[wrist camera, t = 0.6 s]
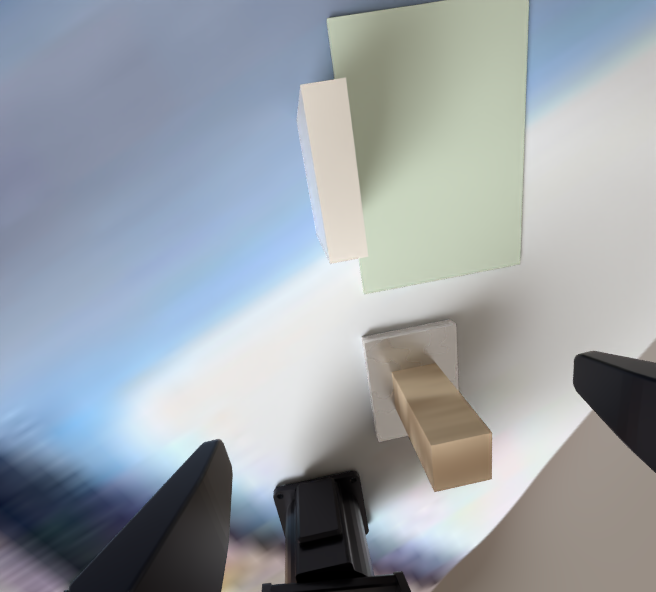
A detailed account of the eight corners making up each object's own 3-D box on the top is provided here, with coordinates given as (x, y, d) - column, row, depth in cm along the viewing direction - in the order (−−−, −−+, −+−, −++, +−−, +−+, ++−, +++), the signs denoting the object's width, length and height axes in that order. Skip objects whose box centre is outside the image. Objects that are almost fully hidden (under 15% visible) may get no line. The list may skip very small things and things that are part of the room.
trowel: (453, 415, 25) (518, 507, 18) (375, 432, 25) (409, 532, 18) (449, 318, 22) (523, 382, 15) (361, 335, 22) (395, 409, 15)
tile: (342, 230, 19) (368, 256, 13) (316, 235, 19) (330, 263, 13) (324, 116, 17) (345, 77, 11) (296, 121, 17) (300, 84, 11)
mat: (517, 263, 21) (520, 264, 21) (363, 292, 21) (364, 294, 21) (525, -9, 17) (529, -13, 16) (326, 21, 16) (327, 18, 16)
